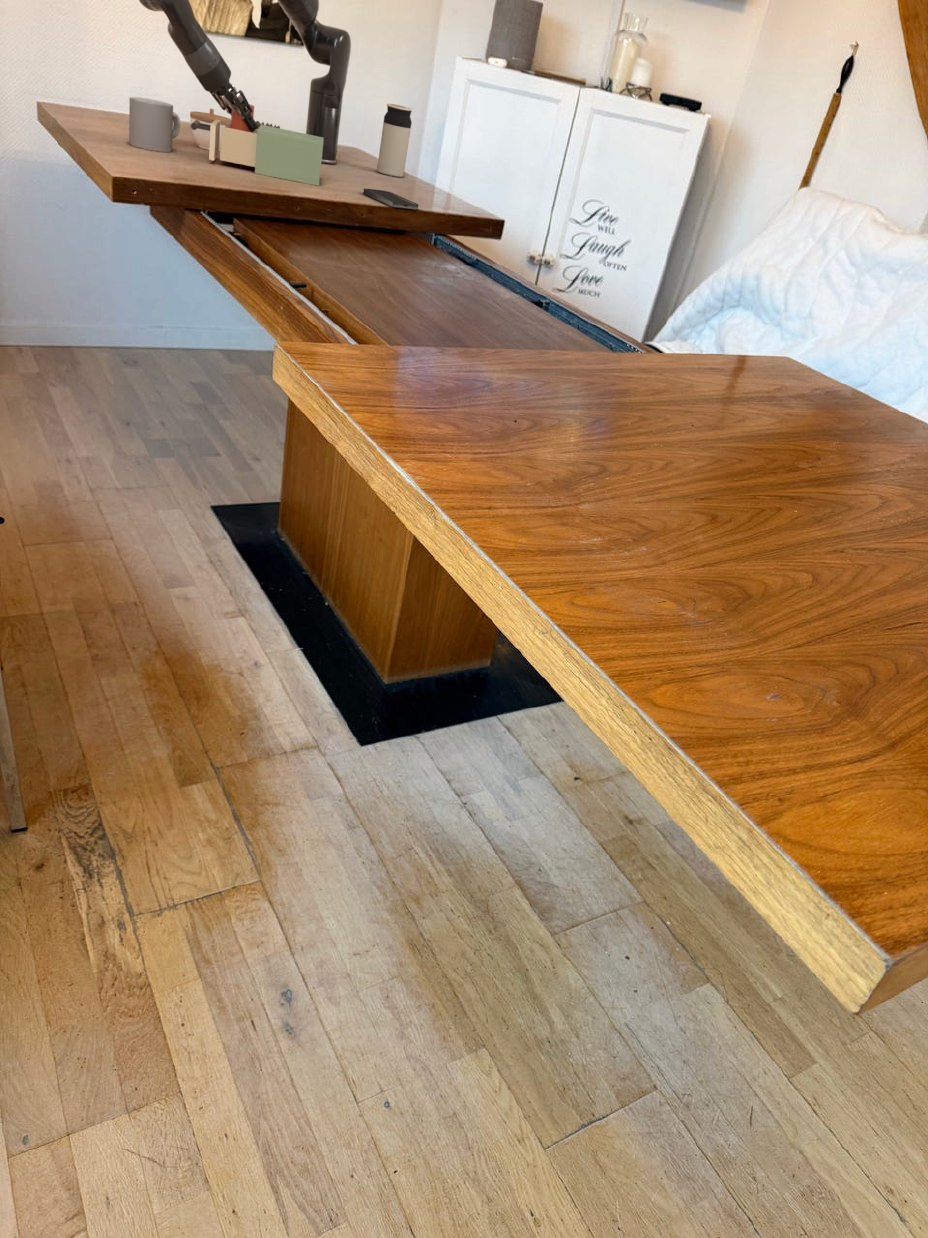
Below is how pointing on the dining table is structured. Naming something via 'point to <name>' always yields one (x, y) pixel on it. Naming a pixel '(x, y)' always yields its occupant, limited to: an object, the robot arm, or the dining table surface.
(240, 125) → the tea tin
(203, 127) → the drawer
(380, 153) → the travel mug
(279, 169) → the cabinet
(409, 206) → the phone
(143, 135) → the coffee mug
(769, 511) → the dining table surface
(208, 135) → the lidded white pot
